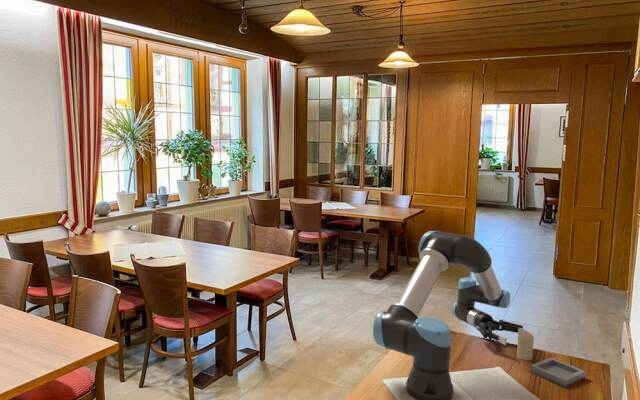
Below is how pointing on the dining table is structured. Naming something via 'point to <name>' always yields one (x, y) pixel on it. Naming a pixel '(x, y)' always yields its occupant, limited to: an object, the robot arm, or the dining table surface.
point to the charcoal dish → (557, 372)
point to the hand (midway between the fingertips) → (518, 339)
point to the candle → (525, 346)
